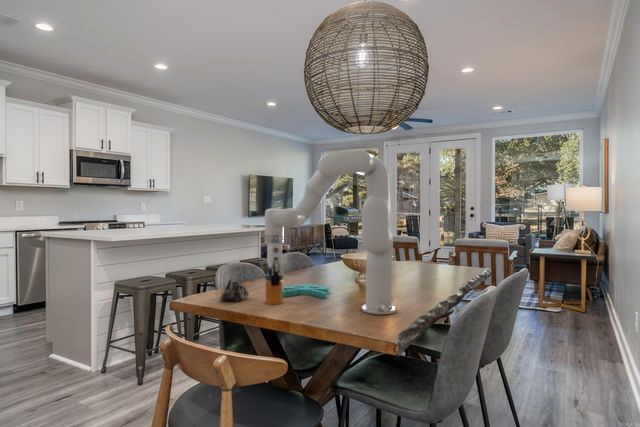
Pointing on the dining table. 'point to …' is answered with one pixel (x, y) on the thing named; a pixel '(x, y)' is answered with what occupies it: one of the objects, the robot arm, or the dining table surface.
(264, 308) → the dining table surface
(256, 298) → the dining table surface
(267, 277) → the lid
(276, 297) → the jar
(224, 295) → the rock
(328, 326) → the dining table surface
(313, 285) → the alien figure
